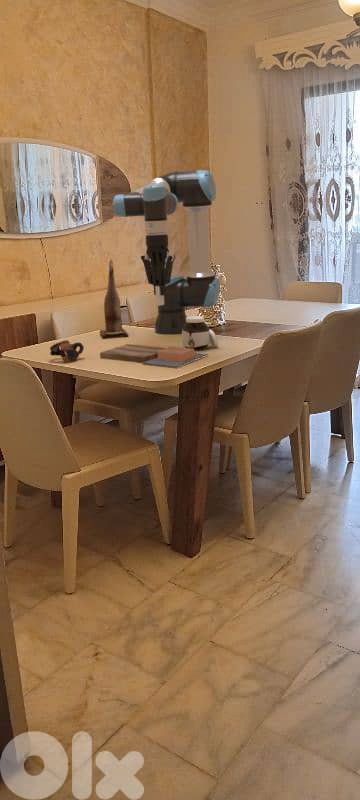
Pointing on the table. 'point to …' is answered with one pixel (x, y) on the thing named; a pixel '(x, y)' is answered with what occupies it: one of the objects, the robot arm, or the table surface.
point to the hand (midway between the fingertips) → (160, 304)
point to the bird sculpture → (112, 307)
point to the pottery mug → (67, 350)
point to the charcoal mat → (172, 363)
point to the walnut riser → (132, 353)
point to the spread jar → (197, 334)
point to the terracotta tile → (175, 354)
